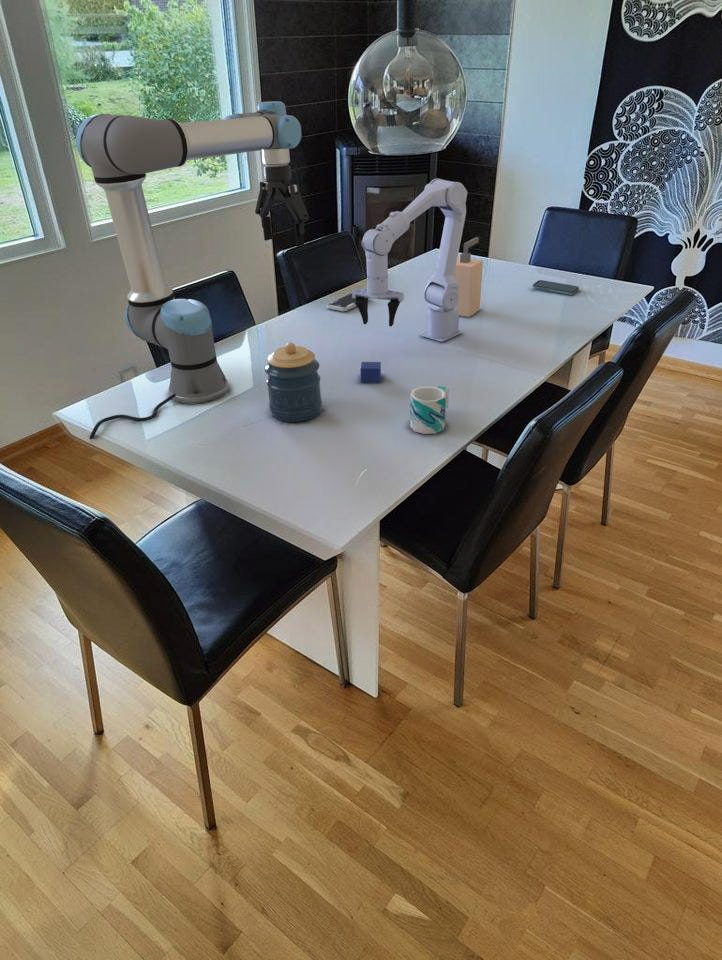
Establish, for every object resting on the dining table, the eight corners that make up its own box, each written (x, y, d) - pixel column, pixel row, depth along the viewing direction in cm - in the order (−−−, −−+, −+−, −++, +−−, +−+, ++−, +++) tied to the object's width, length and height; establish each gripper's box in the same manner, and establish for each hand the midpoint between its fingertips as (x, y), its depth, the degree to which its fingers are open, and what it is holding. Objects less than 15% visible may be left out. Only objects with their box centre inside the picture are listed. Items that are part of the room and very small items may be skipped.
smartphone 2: (573, 292, 232) (531, 284, 239) (572, 296, 233) (531, 289, 240) (579, 286, 237) (539, 279, 244) (579, 290, 238) (538, 283, 245)
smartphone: (369, 296, 236) (344, 308, 226) (369, 300, 237) (344, 312, 227) (351, 293, 240) (326, 304, 230) (351, 296, 241) (326, 308, 230)
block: (380, 382, 179) (379, 368, 176) (360, 382, 179) (360, 368, 177) (381, 375, 182) (380, 361, 180) (362, 375, 183) (361, 361, 181)
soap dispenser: (469, 317, 218) (472, 247, 206) (445, 313, 222) (447, 244, 210) (485, 305, 227) (489, 238, 215) (462, 302, 231) (465, 236, 219)
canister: (275, 426, 159) (266, 357, 150) (266, 403, 170) (257, 337, 160) (328, 418, 162) (323, 349, 153) (316, 396, 173) (310, 330, 163)
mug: (404, 428, 156) (404, 396, 152) (428, 408, 165) (428, 376, 160) (435, 436, 153) (436, 403, 148) (458, 415, 161) (460, 383, 156)
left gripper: (318, 165, 184) (323, 245, 195) (257, 160, 198) (265, 234, 209) (298, 169, 179) (304, 251, 190) (237, 163, 193) (246, 239, 204)
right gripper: (347, 278, 182) (349, 326, 190) (398, 282, 178) (399, 331, 185) (356, 271, 188) (357, 318, 195) (406, 274, 183) (406, 322, 191)
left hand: (284, 242), depth 200 cm, fingers open, 13 cm apart
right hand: (378, 324), depth 191 cm, fingers open, 7 cm apart
